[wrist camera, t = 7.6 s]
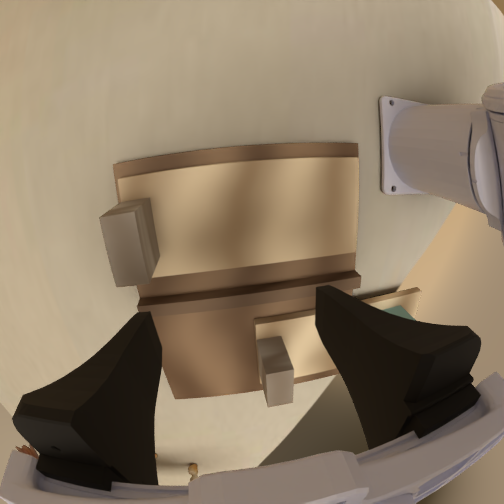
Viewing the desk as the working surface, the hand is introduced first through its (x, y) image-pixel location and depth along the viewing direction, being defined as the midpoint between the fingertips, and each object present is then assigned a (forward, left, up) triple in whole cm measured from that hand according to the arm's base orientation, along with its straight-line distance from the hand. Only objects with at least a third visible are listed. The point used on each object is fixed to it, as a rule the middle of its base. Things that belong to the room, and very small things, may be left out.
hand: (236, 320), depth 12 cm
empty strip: (-2, -2, -8) cm, 9 cm away
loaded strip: (-10, +10, -8) cm, 16 cm away
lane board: (-2, +4, -9) cm, 10 cm away
